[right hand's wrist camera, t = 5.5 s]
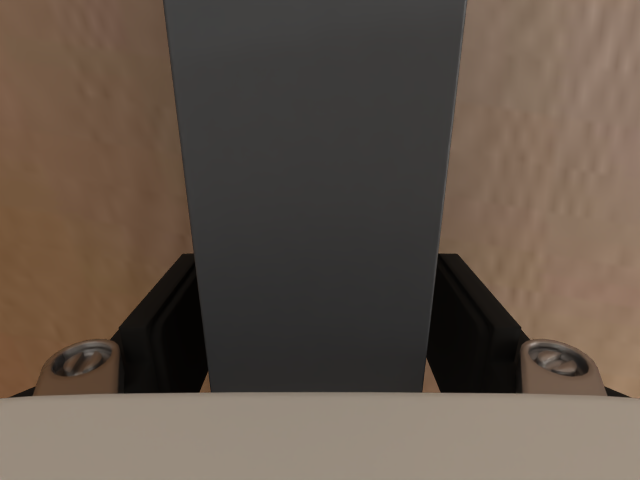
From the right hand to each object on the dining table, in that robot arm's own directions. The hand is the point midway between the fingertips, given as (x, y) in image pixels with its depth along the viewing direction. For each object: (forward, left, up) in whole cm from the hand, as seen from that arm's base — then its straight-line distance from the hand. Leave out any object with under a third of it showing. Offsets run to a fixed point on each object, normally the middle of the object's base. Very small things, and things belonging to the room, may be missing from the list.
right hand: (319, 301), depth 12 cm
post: (+28, -12, -2) cm, 30 cm away
